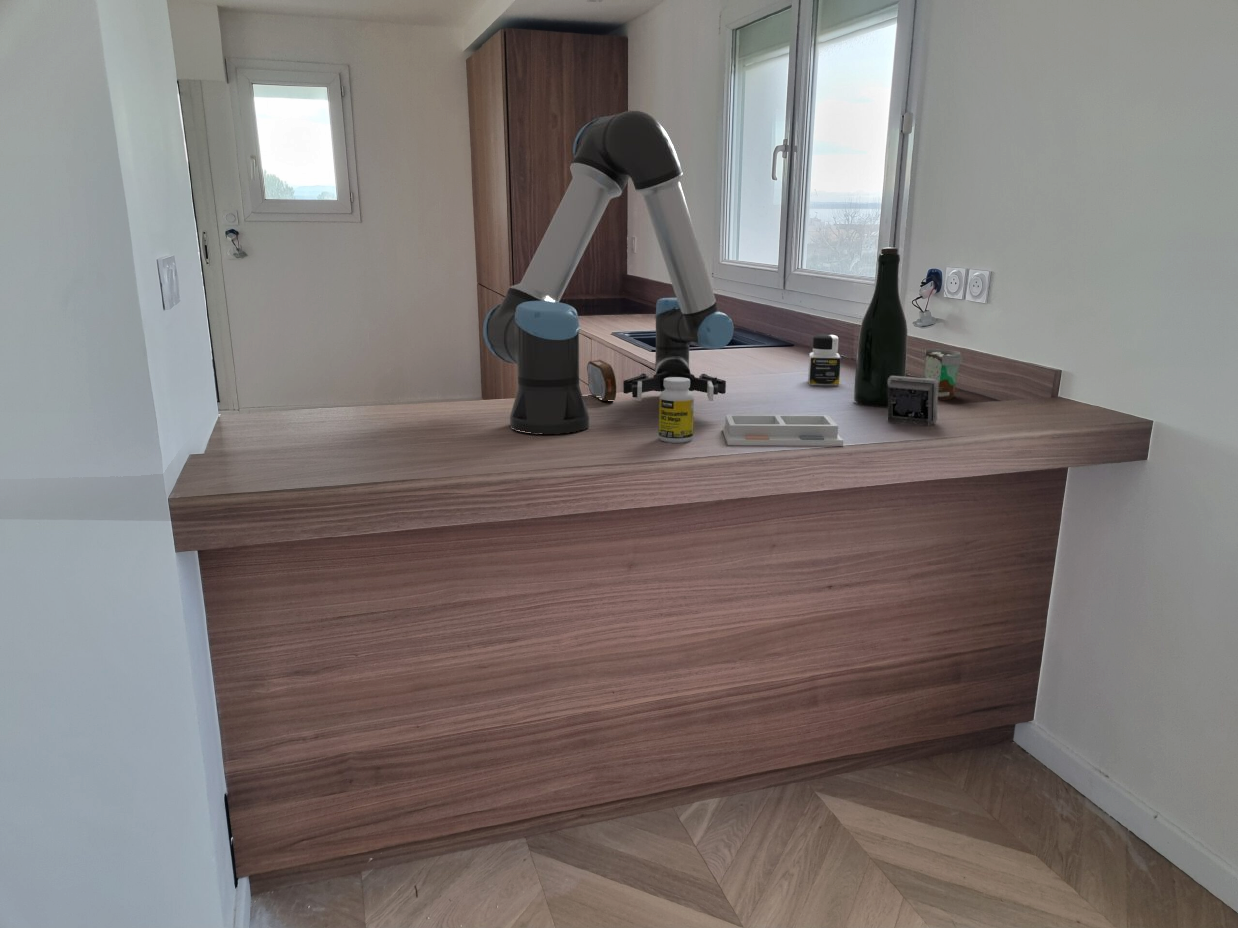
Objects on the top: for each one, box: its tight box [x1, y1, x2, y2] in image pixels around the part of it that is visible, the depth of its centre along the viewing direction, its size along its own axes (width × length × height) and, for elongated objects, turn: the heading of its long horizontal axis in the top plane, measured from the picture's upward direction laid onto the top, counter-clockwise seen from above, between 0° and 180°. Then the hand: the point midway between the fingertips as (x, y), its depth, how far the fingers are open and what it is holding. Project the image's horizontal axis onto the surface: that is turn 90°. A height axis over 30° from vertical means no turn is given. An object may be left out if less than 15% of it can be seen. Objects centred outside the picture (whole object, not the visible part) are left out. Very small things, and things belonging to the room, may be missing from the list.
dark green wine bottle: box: [853, 247, 908, 407], centre depth 182 cm, size 10×10×33 cm
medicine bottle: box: [807, 333, 842, 387], centre depth 210 cm, size 7×7×12 cm
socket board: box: [722, 414, 844, 447], centre depth 154 cm, size 20×12×3 cm, turn 88°
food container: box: [923, 348, 963, 401], centre depth 193 cm, size 12×6×10 cm, turn 179°
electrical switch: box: [887, 376, 938, 427], centre depth 165 cm, size 9×5×9 cm, turn 57°
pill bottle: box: [658, 377, 695, 444], centre depth 152 cm, size 6×6×11 cm
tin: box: [586, 359, 617, 401], centre depth 192 cm, size 15×3×8 cm, turn 18°
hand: (675, 394), depth 161 cm, fingers open, 13 cm apart
